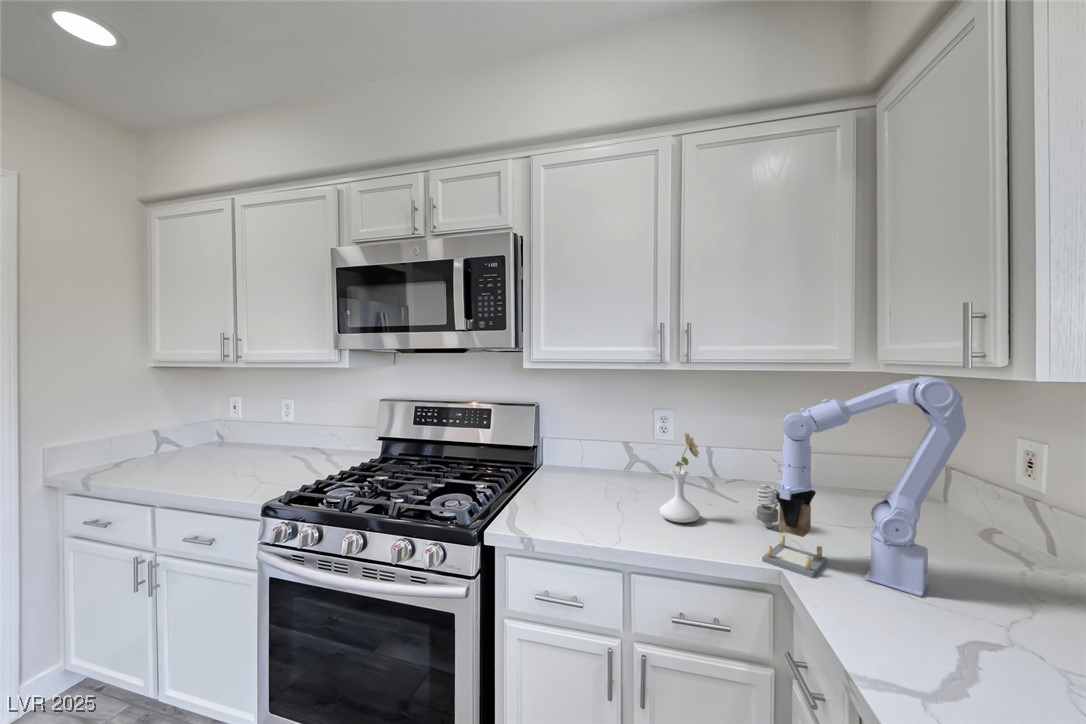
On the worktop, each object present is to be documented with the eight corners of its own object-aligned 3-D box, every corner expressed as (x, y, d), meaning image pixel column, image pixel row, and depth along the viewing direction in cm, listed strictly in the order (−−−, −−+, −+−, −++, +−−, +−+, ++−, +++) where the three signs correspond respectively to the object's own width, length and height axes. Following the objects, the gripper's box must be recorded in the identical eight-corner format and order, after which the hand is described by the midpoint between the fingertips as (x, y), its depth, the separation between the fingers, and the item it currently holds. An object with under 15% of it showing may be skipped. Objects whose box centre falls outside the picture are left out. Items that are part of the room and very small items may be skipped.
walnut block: (810, 531, 103) (810, 505, 103) (803, 537, 100) (803, 510, 100) (787, 524, 107) (787, 500, 107) (779, 530, 104) (779, 505, 103)
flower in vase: (685, 529, 122) (686, 438, 121) (651, 517, 131) (651, 432, 130) (710, 518, 130) (711, 433, 129) (676, 507, 139) (677, 427, 138)
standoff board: (826, 562, 103) (827, 547, 103) (812, 577, 96) (812, 561, 96) (778, 547, 111) (779, 533, 111) (762, 561, 104) (762, 546, 104)
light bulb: (751, 525, 125) (751, 482, 124) (766, 522, 127) (767, 480, 126) (768, 533, 119) (768, 488, 119) (783, 530, 121) (784, 486, 121)
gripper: (789, 456, 111) (788, 510, 111) (765, 467, 101) (765, 526, 101) (821, 462, 106) (820, 518, 106) (800, 473, 96) (799, 536, 96)
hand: (795, 523), depth 103 cm, fingers closed on walnut block, 5 cm apart
